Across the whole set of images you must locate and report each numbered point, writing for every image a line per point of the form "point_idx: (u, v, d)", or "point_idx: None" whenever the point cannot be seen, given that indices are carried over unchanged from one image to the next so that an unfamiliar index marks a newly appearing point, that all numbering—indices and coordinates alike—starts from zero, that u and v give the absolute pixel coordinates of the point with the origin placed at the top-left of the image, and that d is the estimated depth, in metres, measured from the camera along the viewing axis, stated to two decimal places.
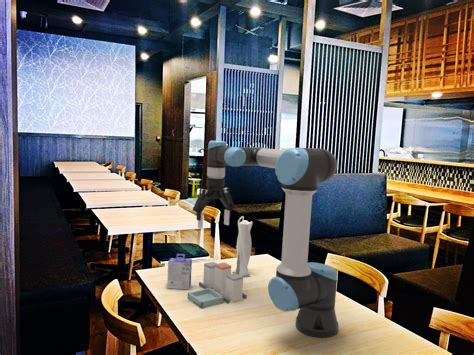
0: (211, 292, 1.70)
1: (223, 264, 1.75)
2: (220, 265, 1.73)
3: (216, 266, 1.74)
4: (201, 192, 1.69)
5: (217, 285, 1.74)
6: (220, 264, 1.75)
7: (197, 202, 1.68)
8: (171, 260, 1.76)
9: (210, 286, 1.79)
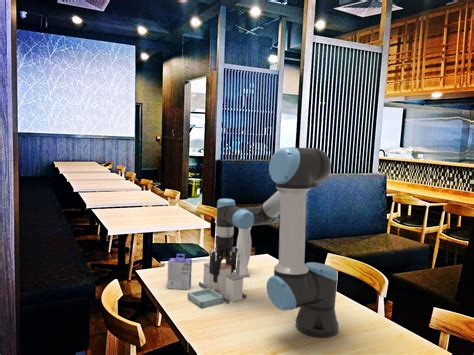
0: (211, 292, 1.70)
1: (223, 264, 1.75)
2: None
3: None
4: (211, 255, 1.70)
5: None
6: None
7: (211, 265, 1.70)
8: (171, 260, 1.76)
9: (210, 286, 1.79)
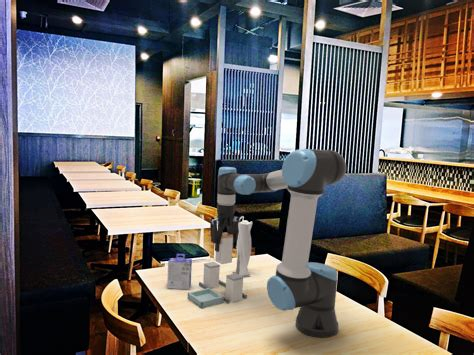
0: (211, 292, 1.70)
1: (224, 233, 1.73)
2: (222, 234, 1.72)
3: None
4: (213, 223, 1.68)
5: None
6: (222, 233, 1.73)
7: (212, 234, 1.68)
8: (171, 260, 1.76)
9: (210, 286, 1.79)
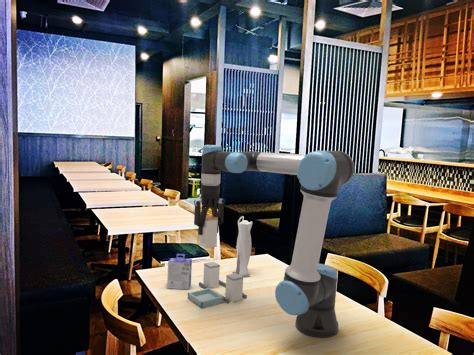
0: (211, 292, 1.70)
1: (209, 216, 1.62)
2: (206, 216, 1.61)
3: None
4: (196, 204, 1.57)
5: None
6: (206, 216, 1.62)
7: (196, 216, 1.58)
8: (171, 260, 1.76)
9: (210, 286, 1.79)
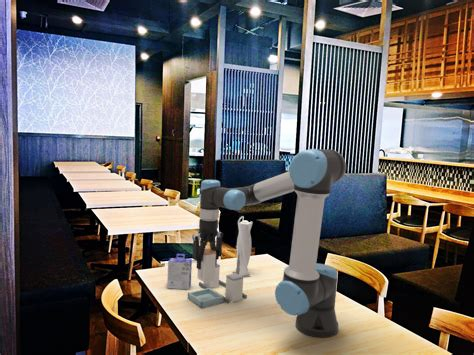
0: (211, 292, 1.70)
1: (207, 250, 1.64)
2: None
3: None
4: (194, 239, 1.59)
5: None
6: None
7: (194, 250, 1.59)
8: (171, 260, 1.76)
9: (210, 286, 1.79)
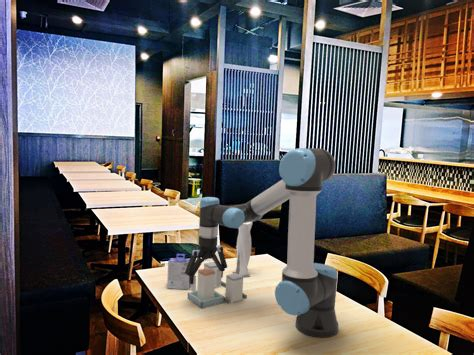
0: None
1: (206, 270, 1.65)
2: (203, 271, 1.63)
3: (199, 272, 1.64)
4: (192, 254, 1.59)
5: (200, 292, 1.64)
6: (203, 270, 1.65)
7: (189, 265, 1.59)
8: (171, 260, 1.76)
9: None
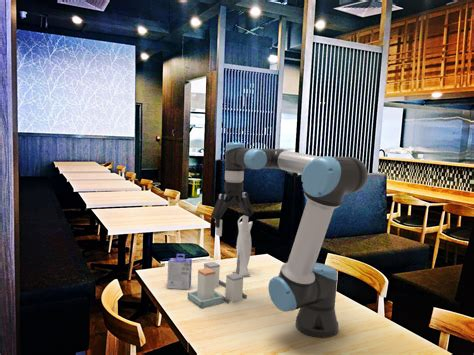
0: None
1: (206, 270, 1.65)
2: (203, 271, 1.63)
3: (199, 272, 1.64)
4: (220, 197, 1.59)
5: (200, 292, 1.64)
6: (203, 270, 1.65)
7: (216, 208, 1.58)
8: (171, 260, 1.76)
9: None
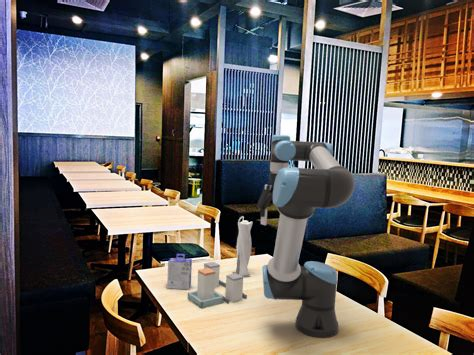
0: None
1: (206, 270, 1.65)
2: (203, 271, 1.63)
3: (199, 272, 1.64)
4: (265, 188, 1.64)
5: (200, 292, 1.64)
6: (203, 270, 1.65)
7: (261, 198, 1.64)
8: (171, 260, 1.76)
9: None
